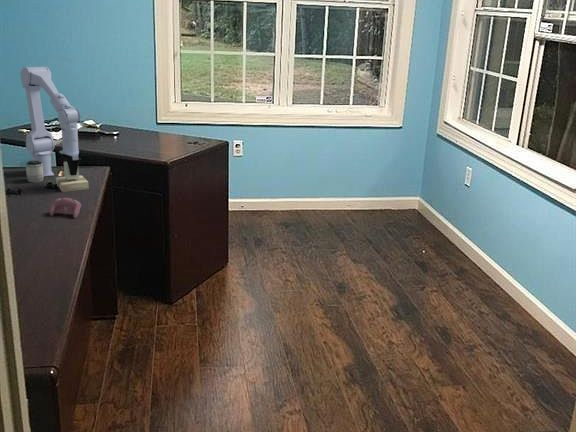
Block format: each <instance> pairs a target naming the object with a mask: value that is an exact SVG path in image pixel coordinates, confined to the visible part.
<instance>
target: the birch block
mask: <svg viewBox="0 0 576 432" xmlns="http://www.w3.org/2000/svg"><path fill="white" fill-rule="evenodd" d="M55 181H56V183H55V184H57V185H56V186H57V187H58V188H59V189H60V191H61V192H62V193H66V192H76V191H85V190H86V191H87V190H90V188H89V187H90V186H89V181H88V180H87V179H86V178H85V177H84V176H83V175H82V174H81V175H80V174H79V179H69V180H67V179H66V178H65V177H64V176H57V177H55Z"/></svg>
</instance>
